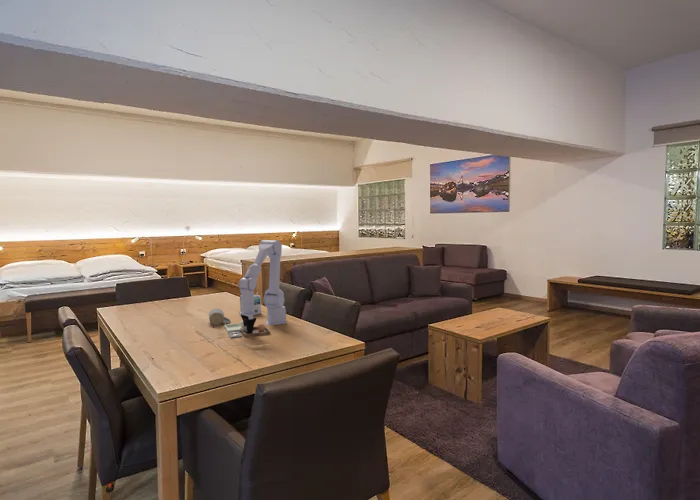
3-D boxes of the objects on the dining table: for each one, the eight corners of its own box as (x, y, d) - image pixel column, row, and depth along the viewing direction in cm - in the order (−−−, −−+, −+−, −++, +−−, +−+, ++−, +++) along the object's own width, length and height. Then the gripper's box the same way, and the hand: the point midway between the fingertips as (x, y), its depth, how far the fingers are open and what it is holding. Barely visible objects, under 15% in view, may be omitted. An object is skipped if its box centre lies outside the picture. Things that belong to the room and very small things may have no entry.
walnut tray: (264, 328, 206) (264, 325, 206) (270, 335, 195) (270, 331, 195) (240, 331, 201) (240, 328, 201) (244, 338, 190) (244, 334, 190)
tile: (239, 333, 198) (239, 331, 198) (241, 338, 191) (241, 335, 191) (228, 334, 196) (228, 332, 196) (230, 339, 189) (230, 336, 189)
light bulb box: (261, 313, 239) (261, 295, 238) (253, 315, 233) (252, 297, 232) (248, 311, 245) (248, 293, 244) (239, 313, 239) (239, 295, 238)
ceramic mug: (209, 326, 211) (209, 312, 210) (209, 322, 218) (208, 308, 218) (231, 325, 214) (230, 310, 214) (229, 321, 222) (229, 307, 221)
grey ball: (252, 331, 200) (251, 323, 199) (253, 333, 196) (253, 325, 196) (243, 332, 198) (243, 324, 198) (245, 334, 194) (244, 326, 194)
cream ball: (247, 326, 209) (246, 318, 208) (248, 328, 205) (248, 320, 205) (239, 327, 207) (238, 319, 207) (240, 329, 203) (240, 321, 203)
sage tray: (248, 325, 213) (248, 322, 213) (253, 331, 202) (253, 327, 202) (224, 328, 208) (224, 324, 208) (228, 334, 197) (227, 330, 197)
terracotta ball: (264, 330, 202) (264, 322, 202) (266, 332, 199) (266, 324, 198) (256, 331, 201) (255, 323, 200) (257, 333, 197) (257, 325, 197)
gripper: (236, 300, 201) (237, 328, 202) (241, 306, 188) (242, 335, 189) (251, 299, 204) (252, 326, 205) (257, 305, 191) (258, 333, 192)
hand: (248, 330), depth 197 cm, fingers open, 7 cm apart
